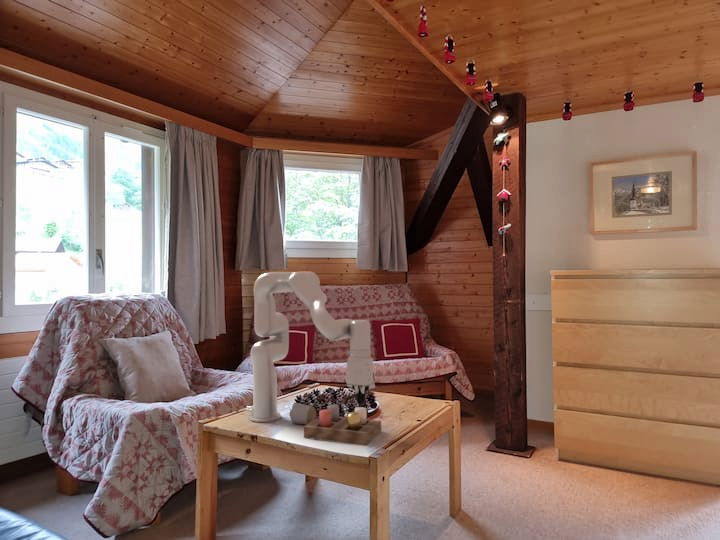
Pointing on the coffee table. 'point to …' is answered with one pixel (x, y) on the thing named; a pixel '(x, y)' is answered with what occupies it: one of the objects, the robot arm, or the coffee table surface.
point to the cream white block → (362, 414)
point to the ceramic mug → (302, 414)
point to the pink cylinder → (325, 418)
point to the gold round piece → (353, 421)
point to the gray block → (334, 412)
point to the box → (343, 431)
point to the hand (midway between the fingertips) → (361, 403)
